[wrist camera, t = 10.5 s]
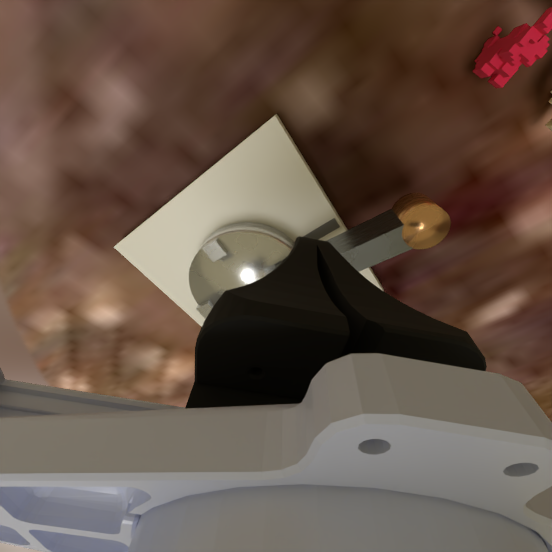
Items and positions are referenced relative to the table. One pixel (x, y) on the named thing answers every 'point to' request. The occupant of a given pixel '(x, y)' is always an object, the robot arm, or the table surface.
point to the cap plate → (234, 210)
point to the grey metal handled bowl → (277, 245)
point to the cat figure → (514, 51)
